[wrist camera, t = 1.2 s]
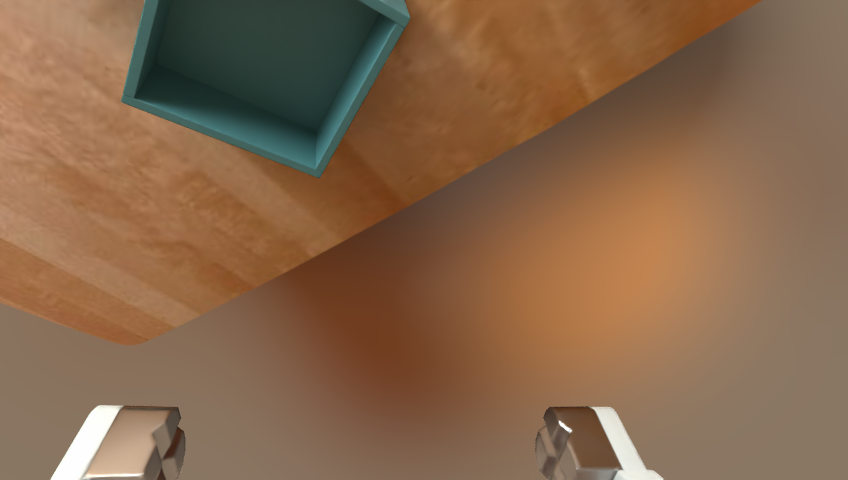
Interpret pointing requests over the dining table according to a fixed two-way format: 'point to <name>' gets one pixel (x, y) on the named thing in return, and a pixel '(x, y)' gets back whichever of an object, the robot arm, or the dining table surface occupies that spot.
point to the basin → (263, 70)
